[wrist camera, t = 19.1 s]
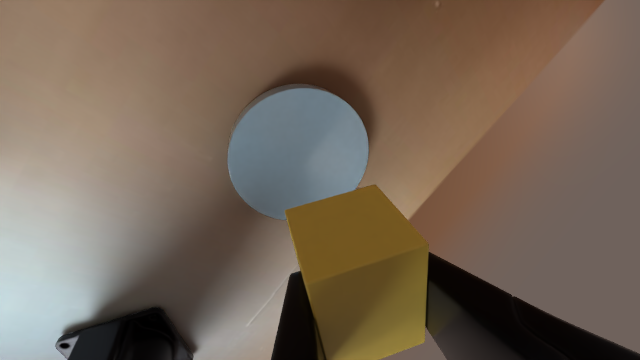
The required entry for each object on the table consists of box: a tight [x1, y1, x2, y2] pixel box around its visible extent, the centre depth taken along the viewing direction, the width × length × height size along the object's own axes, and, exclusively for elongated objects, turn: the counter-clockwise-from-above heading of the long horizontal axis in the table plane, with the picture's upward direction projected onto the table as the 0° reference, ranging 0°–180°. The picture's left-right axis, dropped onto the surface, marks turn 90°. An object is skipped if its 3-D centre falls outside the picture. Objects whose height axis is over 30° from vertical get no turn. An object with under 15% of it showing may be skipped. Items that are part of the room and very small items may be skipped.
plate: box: [227, 84, 369, 220], centre depth 17 cm, size 8×8×1 cm
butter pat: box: [285, 185, 429, 360], centre depth 9 cm, size 4×3×3 cm
